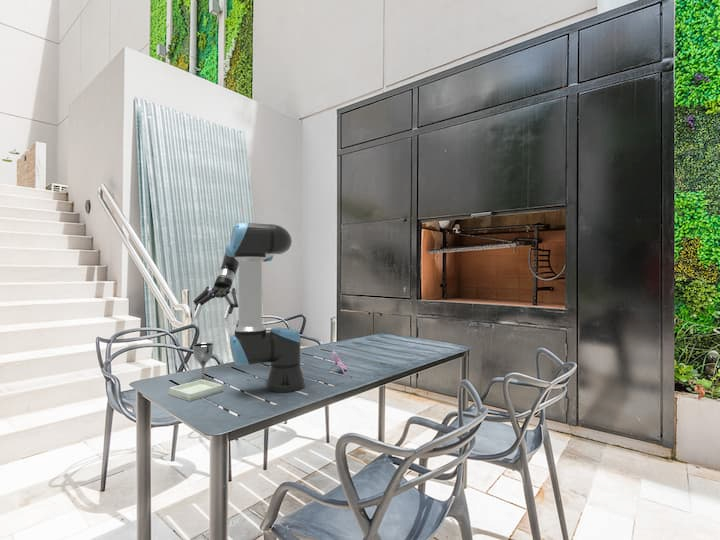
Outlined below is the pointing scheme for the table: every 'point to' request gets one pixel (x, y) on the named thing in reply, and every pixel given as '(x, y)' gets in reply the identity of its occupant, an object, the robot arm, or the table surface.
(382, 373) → the table surface
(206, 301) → the robot arm
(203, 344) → the wine glass
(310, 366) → the table surface
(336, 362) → the lily
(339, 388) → the table surface
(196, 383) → the white tray
